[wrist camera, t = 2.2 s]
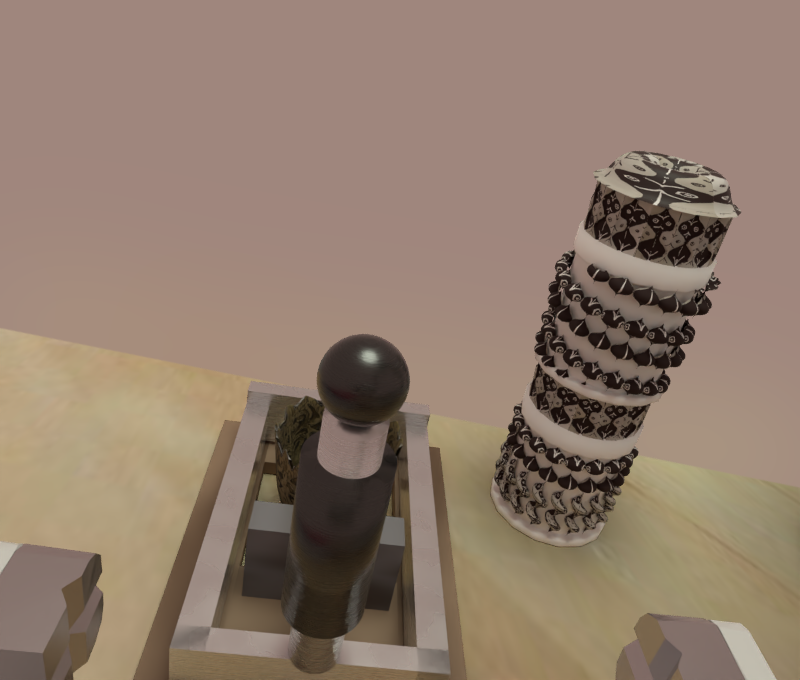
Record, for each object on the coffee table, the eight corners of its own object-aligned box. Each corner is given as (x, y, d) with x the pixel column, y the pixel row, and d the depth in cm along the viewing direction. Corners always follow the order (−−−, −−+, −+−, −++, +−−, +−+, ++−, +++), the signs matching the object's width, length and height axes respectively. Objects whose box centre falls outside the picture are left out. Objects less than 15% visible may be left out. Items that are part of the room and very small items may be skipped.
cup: (296, 474, 46) (308, 379, 42) (395, 511, 44) (417, 415, 41) (242, 548, 39) (251, 443, 36) (356, 593, 38) (378, 489, 34)
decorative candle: (636, 539, 46) (804, 196, 34) (527, 562, 42) (672, 186, 31) (563, 455, 53) (681, 147, 41) (464, 469, 50) (562, 134, 38)
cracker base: (436, 458, 50) (453, 393, 47) (468, 748, 31) (500, 670, 28) (224, 430, 48) (228, 362, 46) (123, 721, 30) (120, 635, 27)
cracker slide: (418, 449, 49) (479, 199, 39) (439, 738, 30) (562, 396, 21) (247, 427, 47) (269, 162, 38) (161, 715, 29) (163, 340, 20)
